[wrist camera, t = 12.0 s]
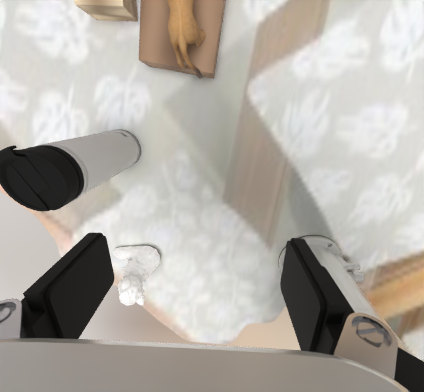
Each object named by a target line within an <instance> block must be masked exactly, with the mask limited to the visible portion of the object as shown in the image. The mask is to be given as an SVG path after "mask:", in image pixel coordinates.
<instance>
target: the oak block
mask: <svg viewBox="0 0 424 392" xmlns="http://www.w3.org/2000/svg"><path fill="white" fill-rule="evenodd" d="M74 1H75V5H76V6H78V7H79V8H81V9H82V10H83V11H85V12H86V13H88V14H89V15H90V16H92V17H93V18H95V19H96V20H113V21H138V18H137V4H136V0H74Z"/></svg>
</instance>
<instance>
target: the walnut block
mask: <svg viewBox="0 0 424 392" xmlns="http://www.w3.org/2000/svg"><path fill="white" fill-rule="evenodd" d="M225 2H226V0H193V10H192V12H193V16H194V19H195V20H196V22H197V25H198V27H199V30H200V29H202V30H204V32H205V34H206V35H205V39H204V41H203V42H201V43H200V45H199V46H196V45H195V43H194V44H191V45H190V44H188V45H187V48H186V49H187V55H188V57H189V59H190V61H191V62H192V64H193V65H194V66H196V67H197V68H198V69H199V70H200V72H201V74H202V76H204V77H209V78H214V74H215V68H216V61H217V55H218V48H219V41H220V35H221V28H222V22H223V15H224V9H225ZM169 15H170V8H169V6H168V2H167V0H141V11H140V40H139V60H140V61H142V62H143V63H145V64H147V65H148V66H151V67H156V68H161V69H167V70H172V71H177V72H183V73H188V74H193V75H196V73H195V71H194V70H192V69H191V68H190V67H189V66H188V65H187V66H186V68H181V67H180V66H179V64H178V63H177V58H176V54H175V51H174V49H173V46H172V45H171V43H170V36H169V31H168V21H169ZM181 54H182V53H181ZM182 57H183V56H182Z"/></svg>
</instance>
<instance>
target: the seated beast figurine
mask: <svg viewBox="0 0 424 392" xmlns="http://www.w3.org/2000/svg"><path fill="white" fill-rule="evenodd" d="M113 252H114V254H115V257H116V258H119V259H128V258H129V260H128V264H127V265H126V266H125V267H123V270H124V273H123V279H121V280H120V282H118V284H119V287H118V292H119V293H120V294H119V298H120V301H121V302H122V304H125V305H126V306H127V305H132V304H134V303H135V302H137V303H138V304H140V305H143V304H144V301H145V296H144V295H143V293H144V290H143V288H142V286H143V285H142V282H145V281H146V279H147V278H148V277H149V275H150V274H151V273H152V272H154V271H155V269H156V268H157V266H159V262H160V256H159V255H160V254H159V253H158V251H157V250H156V249H154V248H152V247H151V246H148V245H146V246H144V245H143V246H128V247H127V246H126V247H118V248H115V249H114V251H113Z"/></svg>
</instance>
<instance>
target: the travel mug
mask: <svg viewBox="0 0 424 392" xmlns="http://www.w3.org/2000/svg"><path fill="white" fill-rule="evenodd" d="M15 148H16V146H10V147H7V148H5V149H3V150H1V151H0V184H1V186H2V187H3V189H4V190H5V191H6V192H7V194H8V195H9V196H10V197H12V198H13V199H14V200H15V201H17V202H18V203H20V204H21V205H23V206H25V207H27V208H30V209H33V210H37V211H49V210H56V209H59V208H61V207H63V206H64V205H66V204H68V203H69V202H71V201H74V200H75V199H77V198H79V197H80V196H82V195H84V194H85V193H87V192H89V191H90V190H92V189H93V188H95V187H97V186H98V185H100V184H102V183H103V182H105V181H106V180H108V179H110V178H111V177H113V176H115V175H116V174H118V173H120V172H121V171H123V170H124V169H126V168H128V167H129V166H131V165H133V164H134V163H136V162H137V160H138V159H139V157H140V153H141V149H140V144H139V142H138V140H137V139H136V138H135V136H134V135H132V134H131V133H129V132H127V131H125V130H115V131H110V132H104V133H99V134H94V135H89V136H84V137H78V138H73V139H68V140H63V141H58V142H52V143H47V144H42V145H38V146H35V147H30V148H26V149H22V150H13V149H15Z"/></svg>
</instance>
